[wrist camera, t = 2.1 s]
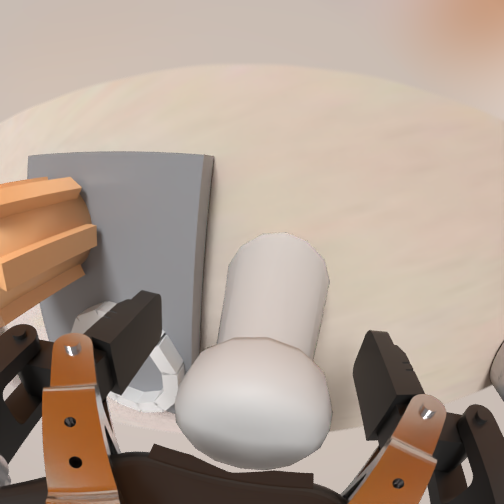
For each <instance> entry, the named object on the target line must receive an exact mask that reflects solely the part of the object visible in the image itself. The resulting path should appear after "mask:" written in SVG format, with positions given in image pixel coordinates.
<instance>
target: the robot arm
mask: <svg viewBox="0 0 504 504" xmlns="http://www.w3.org/2000/svg"><path fill="white" fill-rule="evenodd" d="M161 334H162V299H161V295H160V294H157V293H153V292H149V291H145V290H141V291H140V292H139V293H137V294H136V295H135V296H134V297H133V298H132V299H131V300H130V299H126V300H124V301H122V302H119V303H117V304H116V305H115V306H114V307H112V308H111V309H110V311H108V312H107V313H106V314H105V315H104V317H101V318H100V319H99V320H98V321H97V322H96V323H95V324H93V325H92V326H91V327H90V328H89V329H88V330H87V331H86V332H85V333H84V334H80V333H69V334H65V335H63V336H61V337H59V338H58V339H57V340H56V341H55V342H50V341H44V340H39V338H38V335H37V331H36V329H35V328H34V327H33V326H31V325H27V324H20V325H16V326H13V327H11V328H10V329H8V330H7V331H6V332H5V333H4V334H2V335H1V336H0V504H419V502H420V500H421V498H422V496H423V494H424V492H425V489H426V487H427V485H428V490H429V496H430V502H431V504H504V437H503V435H502V433H501V431H500V429H499V426H498V424H497V422H496V420H495V418H494V416H493V415H492V413H491V412H490V411H489V410H488V409H487V408H485V407H484V406H481V405H476V404H475V405H471V406H469V407H468V408H467V409H466V411H465V412H464V413H463V415H459V414H454V413H448V412H446V409H445V406H444V405H443V404H442V402H441V401H440V400H438V399H437V398H435V397H433V396H431V395H427V394H425V393H424V391H423V388H422V386H421V384H420V382H419V380H418V378H417V376H416V374H415V372H414V371H413V368H412V366H411V364H410V362H409V360H408V358H407V356H406V354H405V353H404V352H403V351H402V350H401V349H400V348H399V347H398V346H397V345H394V344H393V342H392V340H391V338H390V336H389V334H388V333H387V332H382V331H372V330H369V331H368V332H367V333H366V335H365V338H364V340H363V343H362V345H361V348H360V350H359V353H358V355H357V358H356V360H355V363H354V367H353V378H354V383H355V387H356V392H357V396H358V401H359V405H360V410H361V415H362V420H363V425H364V430H365V435H366V440H367V441H369V440H378V442H379V446H378V447H377V448H376V449H375V451H374V452H373V454H372V455H371V457H370V458H369V460H368V461H367V462H366V464H365V465H364V466H363V468H362V469H361V471H360V472H359V473H358V475H357V476H356V477H355V478H354V480H353V481H352V482H351V483H350V485H349V486H348V487H347V488H346V489H345V490H344V491H343V492H342V494H341V495H340V494H338V493H336V492H335V491H333V490H331V489H328V488H326V487H324V486H321V485H318V484H314V483H313V473H295V472H283V471H263V472H247V473H231V472H227V471H225V470H222V469H220V468H218V467H216V466H213V465H211V464H209V463H207V462H205V461H202V460H201V459H198V458H196V457H194V456H192V455H189V454H186V453H182V452H179V451H175V450H172V449H169V448H165V447H162V446H160V445H157V444H154V445H153V447H152V449H151V451H150V453H149V452H125V453H121V451H120V449H119V446H118V443H117V440H116V437H115V432H114V428H113V424H112V419H111V415H110V410H109V405H108V401H107V395H108V394H109V392H110V391H111V392H113V393H116V394H118V395H122V394H123V392H124V391H125V390H126V388H127V387H128V385H129V384H130V382H131V381H132V379H133V378H134V377H135V375H136V374H137V372H138V371H139V369H140V368H141V366H142V365H143V364H144V362H145V361H146V359H147V358H148V356H149V355H150V354H151V352H152V351H153V349H154V348H155V347H156V345H157V344H158V342H159V340H160V338H161ZM17 374H18V375H19V378H20V380H21V383H20V385H19V386H18V387H17V388H16V389H15V390H14V391H13V392H12V393H11V395H10V396H9V397H8V398H7V399H6V400H5V401H4V400H3V390H4V388H5V386H6V385H7V384H8V383H9V382H10V381H11V380H12V379H13V378H14V377H15V376H16V375H17ZM490 380H491V383H492V384H493V386H494V387H495V389H496V390H497V392H498V393H499V395H500V397H501V398H502V400H503V401H504V343H503V344H502V346H501V348H500V349H499V351H498V353H497V355H496V357H495V359H494V361H493V364H492V367H491V372H490ZM41 417H42V436H43V452H44V463H45V472H46V477H42V478H38V479H34V480H30V481H26V482H21V483H16V484H12V485H10V483H11V479H10V476H9V475H8V472H9V470H8V464H9V462H10V461H11V459H12V458H13V456H14V455H15V453H16V452H17V450H18V449H19V447H20V446H21V445H22V443H23V442H24V440H25V439H26V438H27V436H28V435H29V433H30V432H31V430H32V429H33V428H34V426H35V425H36V424H37V422H38V421H39V420H40V418H41ZM467 457H468V459H469V463H470V466H471V469H472V472H473V480H472V483H471V485H470V486H469V487H467V483H466V479H465V476H464V472H463V469H462V466H461V463H462V462H463V461H464V460H465V459H466V458H467Z"/></svg>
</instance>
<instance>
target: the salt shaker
mask: <svg viewBox="0 0 504 504" xmlns="http://www.w3.org/2000/svg"><path fill="white" fill-rule="evenodd" d="M329 283H330V280H329V276H328V271H327V267H326V263H325V260H324V259H323V257H322V256H321V255H320V254H319V253H318V252H317V251H316V250H315V249H314V248H313V247H312V245H311V244H310V243H309V242H308V241H306V240H304V239H301V238H299V237H296V236H294V235H291V234H289V233H287V232H284V233H268V234H262V235H260V236H258V237H256V238H255V239H253V240H251V241H249V242H247V243H246V244H244V245H242V246H241V247H240V248H239V250H238V251H237V253H236V255H235V256H234V258H233V259H232V261H231V262H230V264H229V266H228V274H227V282H226V290H225V297H224V303H223V309H222V315H221V321H220V327H219V333H218V339H217V344H216V345H214V346H211V347H209V348H207V349H205V350H204V351H202V352H201V353H200V355H199V356H198V358H197V359H196V360H195V362H194V363H193V364H192V366H191V367H190V369H189V370H188V371H187V373H186V375H185V376H184V378H183V379H182V381H181V383H180V384H179V387H178V391H177V395H176V399H175V414H176V423H177V424H178V426H179V428H180V429H181V431H182V432H183V434H184V435H185V436H186V437H187V439H188V440H189V441H190V442H191V443H192V445H194V447H195V448H196V449H197V450H199V451H201V452H202V453H204V454H206V455H207V456H209V457H210V458H212V459H214V460H215V461H218V462H221V463H225V464H228V465H231V466H235V467H238V468H244V469H258V470H269V469H275V468H281V467H285V466H290V465H292V464H294V463H296V462H298V461H300V460H302V459H303V458H305V457H307V456H309V455H310V454H312V453H313V452H315V451H316V450H318V449H319V448H320V447H321V445H322V443H323V441H324V440H325V438H326V436H327V434H328V432H329V431H330V425H331V419H332V413H333V411H332V406H331V400H330V395H329V391H328V386H327V382H326V378H325V374H324V372H323V371H322V369H321V368H320V367H319V366H318V365H317V364H316V363H315V362H314V361H313V359H314V355H315V350H316V346H317V341H318V336H319V331H320V327H321V322H322V317H323V311H324V306H325V302H326V297H327V293H328V288H329Z"/></svg>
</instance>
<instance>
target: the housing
mask: <svg viewBox="0 0 504 504" xmlns="http://www.w3.org/2000/svg"><path fill="white" fill-rule="evenodd" d="M213 161H214V156H208V155H199V154H183V153H164V152H75V153H57V154H43V155H32V156H28V176H27V180H21V181H15V182H9V183H4V184H0V328H1V327H3V326H5V325H7V324H8V323H10V322H11V321H13V320H14V319H16V318H17V317H19V316H20V315H22V314H23V313H25V312H26V311H28V310H29V309H31V308H32V307H34V306H35V305H37V304H38V303H40V307H41V312H42V316H43V320H44V324H45V328H46V331H47V335H48V339H49V341H50V342H55V341H56V340H57V339H58V338H59V337H61V336H63V335H65V334H69V333H80V334H84V333H85V332H86V331H87V330H88V329H89V328H90V327H91V326H92V325H93V324H95V323H96V322H97V321H98V320H99V319H100V318H101V317H104V315H105V314H106V313H107V312H108V311H110V309H111V308H112V307H114V306H115V305H116V304H117V303H119V302H122V301H124V300H126V299H130V300H131V299H132V298H133V297H134V296H135V295H136V294H137V293H139V292H140V291H141V290H145V291H149V292H153V293H157V294H160V295H161V299H162V334H161V338H160V340H159V342H158V344H157V345H156V347H155V348H154V349H153V351H152V352H151V354H150V355H149V356H148V358H147V359H146V361H145V362H144V364H143V365H142V366H141V368H140V369H139V371H138V372H137V374H136V375H135V377H134V378H133V379H132V381H131V382H130V384H129V385H128V387H127V388H126V390H125V391H124V392H123V394H122V395H118V394H116V393H113V392H111V391H110V392H109V394H108V395H107V396H109V397H110V398H111V399H113V400H114V401H116V400H117V403H119V404H121V405H124V406H126V407H129V408H131V409H134V410H137V411H139V412H141V411H142V412H164V411H168V412H171V413H174V414H175V399H176V395H177V391H178V387H179V384H180V383H181V381H182V379H183V378H184V376H185V375H186V373H187V371H188V370H189V369H190V367H191V366H192V364H193V363H194V362H195V360H196V359H197V358H198V356H199V350H200V323H201V303H202V285H203V269H204V255H205V242H206V230H207V219H208V208H209V198H210V188H211V178H212V169H213Z"/></svg>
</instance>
